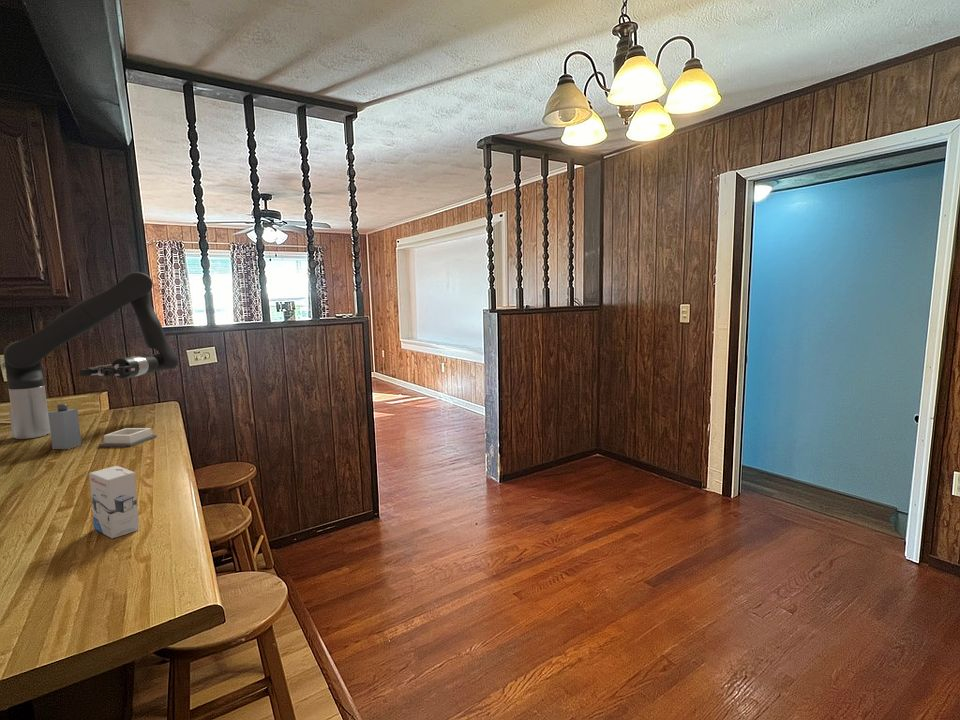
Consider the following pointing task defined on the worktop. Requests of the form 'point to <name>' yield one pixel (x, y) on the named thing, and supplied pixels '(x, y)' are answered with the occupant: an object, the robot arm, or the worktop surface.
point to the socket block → (127, 437)
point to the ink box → (114, 501)
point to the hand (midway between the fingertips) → (92, 373)
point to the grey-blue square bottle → (64, 427)
